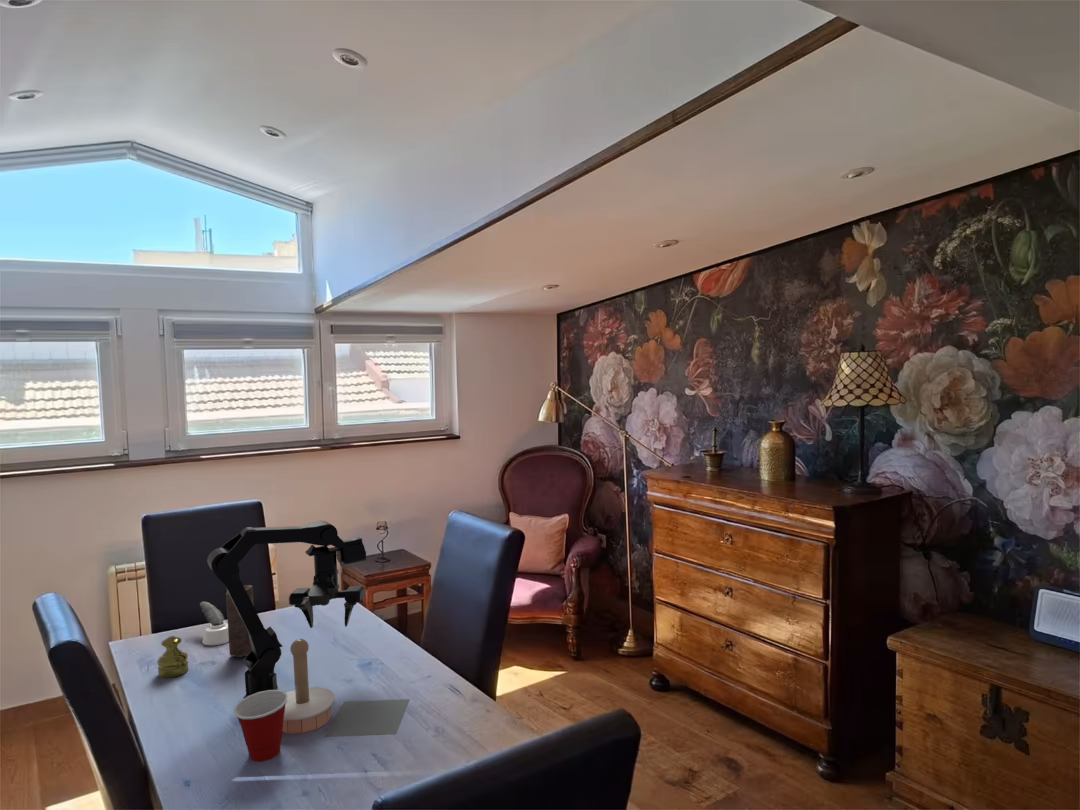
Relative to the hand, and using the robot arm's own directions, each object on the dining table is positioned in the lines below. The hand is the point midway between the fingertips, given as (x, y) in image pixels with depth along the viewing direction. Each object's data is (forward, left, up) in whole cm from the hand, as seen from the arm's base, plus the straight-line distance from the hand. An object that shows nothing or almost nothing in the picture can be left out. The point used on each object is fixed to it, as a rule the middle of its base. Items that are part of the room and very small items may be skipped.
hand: (329, 626), depth 185 cm
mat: (+16, -25, -13) cm, 32 cm away
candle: (-30, +15, -13) cm, 36 cm away
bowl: (+1, -25, -13) cm, 28 cm away
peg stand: (+1, -25, -9) cm, 26 cm away
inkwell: (-46, +31, -13) cm, 57 cm away
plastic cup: (-3, -39, -13) cm, 41 cm away
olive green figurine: (-45, +5, -13) cm, 47 cm away
